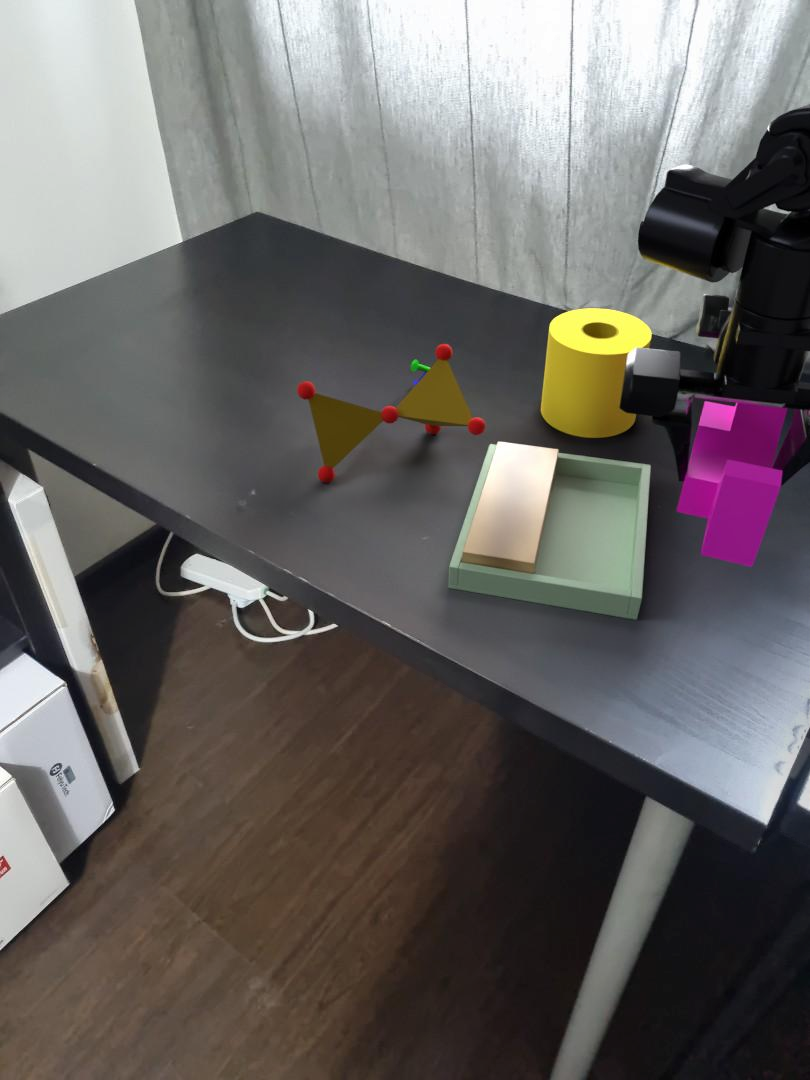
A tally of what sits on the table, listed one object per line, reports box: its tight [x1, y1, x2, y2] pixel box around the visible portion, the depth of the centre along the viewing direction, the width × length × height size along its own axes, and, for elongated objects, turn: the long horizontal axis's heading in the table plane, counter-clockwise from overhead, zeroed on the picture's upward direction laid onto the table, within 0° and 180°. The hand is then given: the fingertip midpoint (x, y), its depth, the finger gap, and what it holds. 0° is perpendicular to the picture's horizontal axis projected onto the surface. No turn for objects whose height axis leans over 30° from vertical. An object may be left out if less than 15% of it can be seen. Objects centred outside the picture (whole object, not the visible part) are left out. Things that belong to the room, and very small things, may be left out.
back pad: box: [462, 441, 560, 574], centre depth 73 cm, size 6×16×3 cm, turn 165°
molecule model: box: [296, 343, 486, 484], centre depth 82 cm, size 16×18×12 cm
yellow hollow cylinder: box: [540, 307, 653, 439], centre depth 85 cm, size 10×10×9 cm
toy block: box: [675, 400, 789, 568], centre depth 65 cm, size 15×6×8 cm, turn 158°
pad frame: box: [447, 443, 652, 621], centre depth 72 cm, size 15×18×2 cm
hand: (725, 484), depth 67 cm, fingers closed on toy block, 6 cm apart
